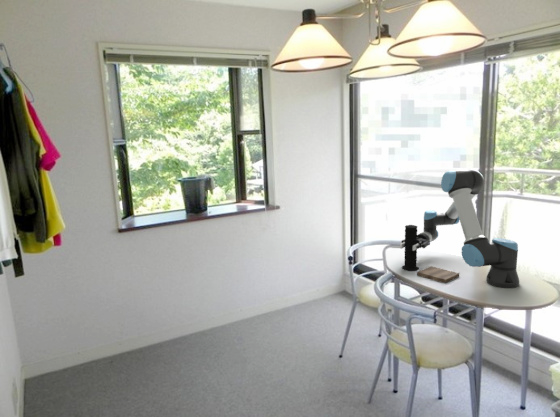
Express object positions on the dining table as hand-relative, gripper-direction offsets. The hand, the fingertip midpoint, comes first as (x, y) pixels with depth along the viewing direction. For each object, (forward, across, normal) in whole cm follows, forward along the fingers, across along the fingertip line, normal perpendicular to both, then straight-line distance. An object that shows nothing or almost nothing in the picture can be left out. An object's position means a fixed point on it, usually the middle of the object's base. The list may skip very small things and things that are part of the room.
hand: (407, 247), depth 230 cm
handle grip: (-5, 0, -14) cm, 15 cm away
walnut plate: (-1, -18, -14) cm, 23 cm away
